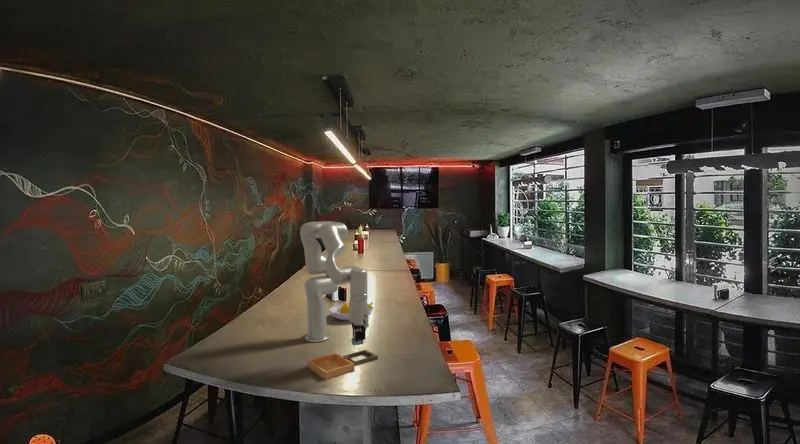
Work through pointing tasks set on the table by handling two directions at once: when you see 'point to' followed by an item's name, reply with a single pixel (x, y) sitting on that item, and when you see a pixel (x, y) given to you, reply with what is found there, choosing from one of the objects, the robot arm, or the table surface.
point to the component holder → (362, 361)
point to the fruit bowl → (345, 311)
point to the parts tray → (330, 366)
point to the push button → (356, 335)
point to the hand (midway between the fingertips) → (359, 337)
